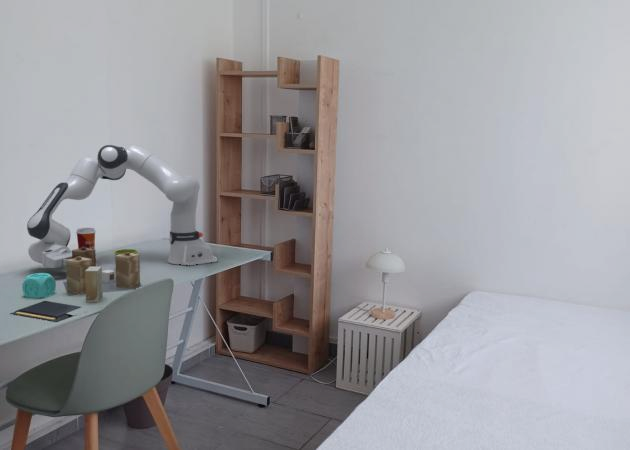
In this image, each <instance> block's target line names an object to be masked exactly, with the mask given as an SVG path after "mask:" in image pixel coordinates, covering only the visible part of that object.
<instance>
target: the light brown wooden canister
mask: <svg viewBox="0 0 630 450" xmlns="http://www.w3.org/2000/svg"><path fill="white" fill-rule="evenodd" d="M89 267H92V259H89V258H83V257H81V256H77V257H76V258H72V259H68V260H66V266H65V271H66V275H65V276H66V282H67V292H70V293H74V294H79V295H78V296H81V295H80V294H83V293H86V284H85V270H86V269H87V268H89ZM67 292H66V293H67ZM83 295H84V294H83Z"/></svg>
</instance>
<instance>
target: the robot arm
mask: <svg viewBox="0 0 630 450" xmlns="http://www.w3.org/2000/svg"><path fill="white" fill-rule="evenodd" d="M96 157H97V158H94V157H90V156H83V157H82V158H81V159H80V160H78V162H77V163H76V165H75V166H74V167H73V169H72V171H71V173H70V174H69V177H68V178H67V179H66V180H65V181H64V182H59V183H58V184H57V185H56V186H55V187H54V188H53V189H52V191H51V192H50V193H49V194H48V196H47V198H46V199H45V200H44V202H43V203H42V204H41V206H40V207H39V208H38V210H37V211H36V212H35V213H34V214H33V215H32V216H31V217H30V218H29V220H28V221H27V224H26V229H27V232H28V234H29V236H31V238H35V239H38V240H37V241H35V242H33V243H31V244H30V245H29V247H28V251H27V253H28V255H29V258H30V259H31V260H32V261H33V262H36V263H38V264H41V265H42V268H43V269H57V268H66V260H68V259H72V250H71V248H69V247H68V245H69V243H70V240H71V231H70V229H69V228H68V227H66V226H64V224H62V223H59V222H58V221H56V220H54V219H53V218H52V216H53V214H54V212H55V211H56V210H57V209H58V207H59V205H61V202H63V201H64V200H74V201H75V200H76V201H81V200H85V199H87V198H89V196H90V195H91V194H92V192H93V190H94V189H95V186H96V185H97V182H98V180H99V179H101V180H109V181H119V180H120V179H122V178H123V177H124V176H125V174H126V171H127V170H131V171H134V172H135V173H137V174H138V175H139V176H141V177H142V178H144V179H145V180H146V181H148V182H150V183H151V184H152V185H154V186H155V187H156V188H157V189H158V190H159V191H160V192H162V194H164V195H165V197H166V199H168V200H169V201H170V202H172V203H173V204H172V209H171V212H170V231H169V244H170V245H169V252H168V253H169V254H168V258H167V263H169V264H172V265H179V264H181V266H186V265H188V266H189V265H190V266H196V264H198V265H203V264H210V263H211V262H212V263H217V262H218V257H216V256H215V255H214V254H213V249H212V248H211V246H210V245H209V244H207V243H206V241H203V240H202V239H201V238H203V236H204V234H203V232H201V231H198V230H196V229H197V228H196V227H197V226H196V225H197V224H196V222H197V221H196V220H197V219H196V214H197V206H198V199H199V191H200V186H201V185H200V182H199V180H198V179H197V178H196V177H194V176H192V175H188V174H185V175H180V174H178V173H177V171H175V170H174V169H173V168H172V167H171V166H170V164H168V163H167V162H165V161H164V160H163V159H161V158H160V157H158V156H156V155H155V154H154V153H152V152H150V151H148V150H147V149H145V148H143V147H140V146H138V145H134V144H133V145H130V146H129V147H127V148H124V147H122V146H116V145H113V144H106V145H104V146H102V147H101V148H100V149H99V151H98V152H97V156H96ZM212 263H211V264H212ZM190 266H189V267H190Z"/></svg>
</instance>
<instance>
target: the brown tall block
mask: <svg viewBox="0 0 630 450" xmlns="http://www.w3.org/2000/svg"><path fill="white" fill-rule="evenodd" d="M114 257H115V259H114V260H115V271H116V286H118V287H123V288H127V289H129V288H132V287H135V286H138V285H140V283H141V267H140V263H141V262H140V254H138V253H136V254H133V253H130V252H125V253H123V254H119V255H114Z"/></svg>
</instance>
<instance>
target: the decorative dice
mask: <svg viewBox="0 0 630 450" xmlns="http://www.w3.org/2000/svg"><path fill="white" fill-rule="evenodd" d="M56 285H57V284H56V280H55V278H54V277H53V275H51V274H50V273H46V272H38V273H37V272H36V273H31V274H27V276H26V277H25V278H24V280H23V282H22V285H21V286H22V287H21V288H22V292H23V295H24V296H25V297H26V298H31V299H44V298H47V297H49V296H52V295H54V294H55V291H56V289H57V286H56Z"/></svg>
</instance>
